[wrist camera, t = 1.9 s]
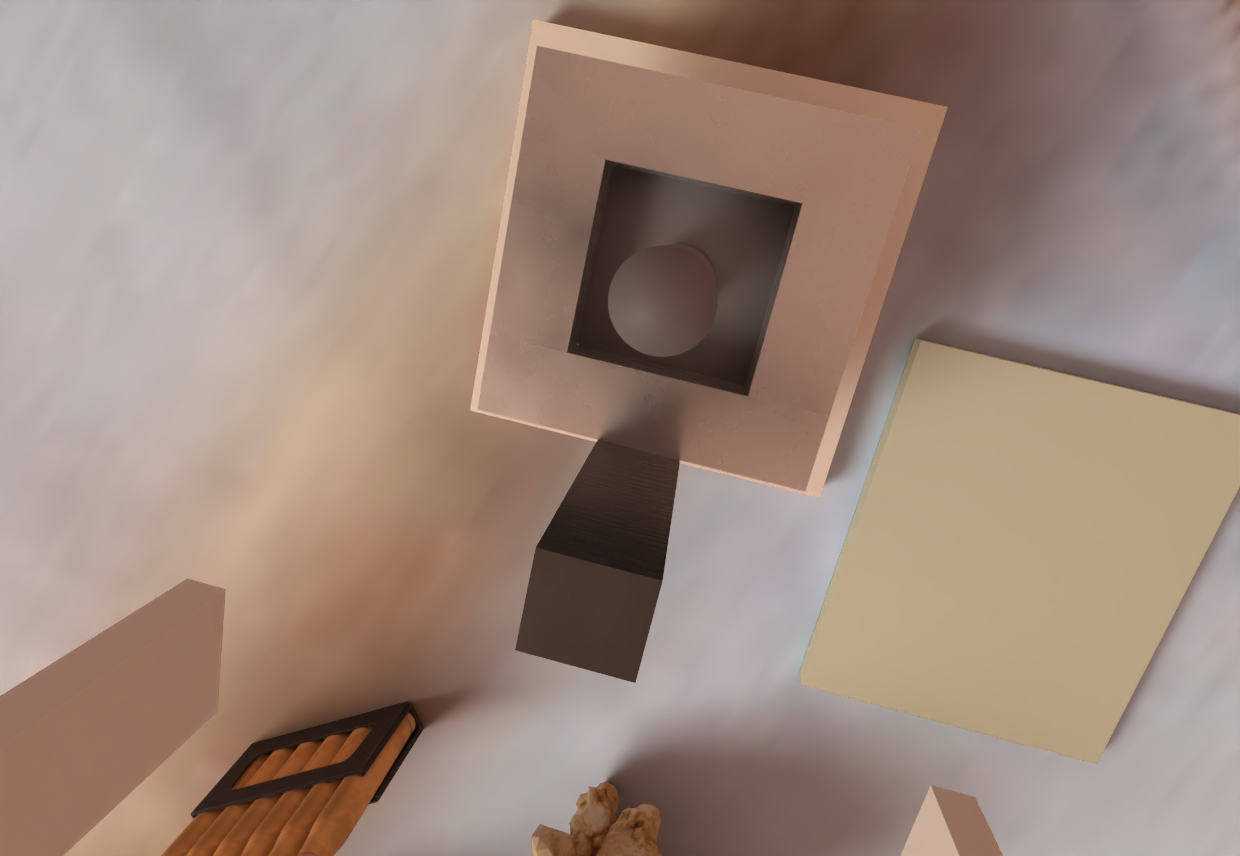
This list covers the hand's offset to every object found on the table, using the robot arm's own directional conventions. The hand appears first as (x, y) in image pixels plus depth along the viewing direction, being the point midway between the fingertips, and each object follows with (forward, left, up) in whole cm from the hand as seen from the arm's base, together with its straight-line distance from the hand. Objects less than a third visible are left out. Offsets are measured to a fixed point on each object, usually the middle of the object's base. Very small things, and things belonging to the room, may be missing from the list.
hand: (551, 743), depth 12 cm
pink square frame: (-6, 0, -15) cm, 16 cm away
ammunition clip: (+21, -13, -20) cm, 32 cm away
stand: (-8, 0, -20) cm, 21 cm away
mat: (+1, +17, -20) cm, 26 cm away
